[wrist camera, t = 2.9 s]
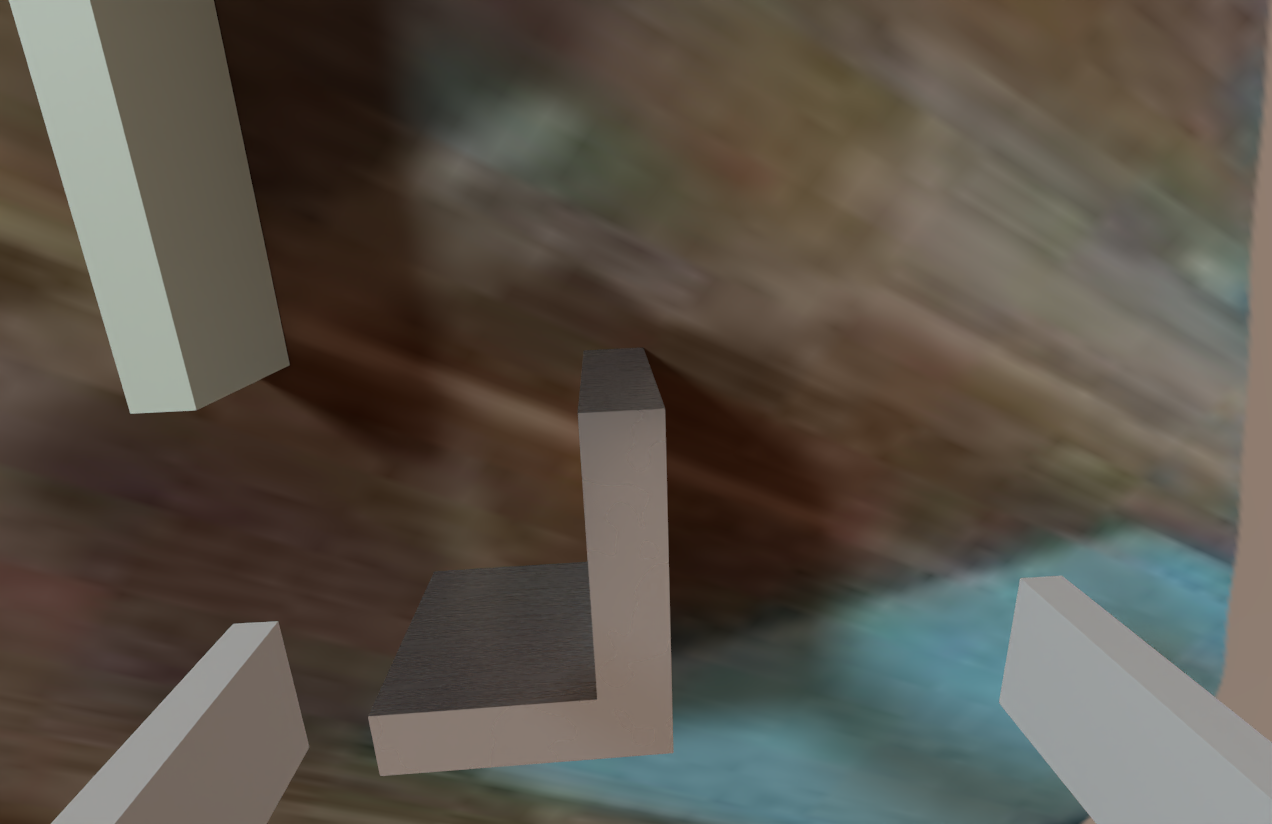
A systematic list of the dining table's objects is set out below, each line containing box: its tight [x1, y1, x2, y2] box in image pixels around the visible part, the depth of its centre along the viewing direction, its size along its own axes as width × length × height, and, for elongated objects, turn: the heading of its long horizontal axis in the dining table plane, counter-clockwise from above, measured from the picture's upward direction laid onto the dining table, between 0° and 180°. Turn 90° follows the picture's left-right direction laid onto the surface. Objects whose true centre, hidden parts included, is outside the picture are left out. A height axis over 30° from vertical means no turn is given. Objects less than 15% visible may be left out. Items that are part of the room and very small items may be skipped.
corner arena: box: [9, 0, 290, 414], centre depth 16 cm, size 18×21×5 cm
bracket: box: [368, 348, 673, 776], centre depth 19 cm, size 10×8×7 cm
